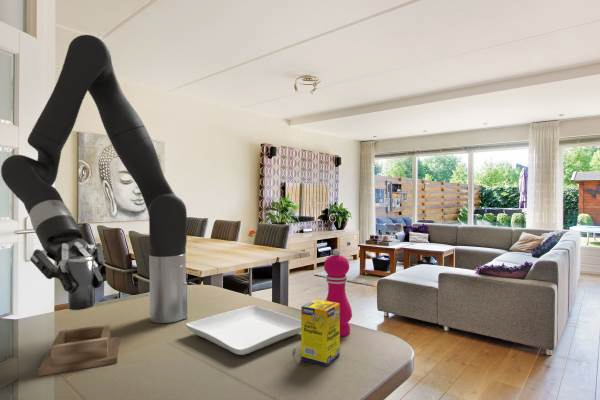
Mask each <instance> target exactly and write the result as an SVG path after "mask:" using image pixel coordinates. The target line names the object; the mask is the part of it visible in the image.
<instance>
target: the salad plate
mask: <svg viewBox="0 0 600 400" xmlns="http://www.w3.org/2000/svg"><path fill="white" fill-rule="evenodd" d="M185 327H186V328H187V329H188V330H189V331H190V332H192V333H194V335H196V336H199V337H201V338H204V339H206V340H207V341H209V342H211V343H214V344H215V345H217V346H220V347H221V348H224V349H226V350H227V351H229V352H231V353H233V354H235V355H239V356H245V355H247V354H250V353H253V352H255V351H259V350H261V349H263V348H266V347H268V346H271V345H274V344H275V343H277V342H280V341H283V340H285V339H287V338H290V337H292V336H296V335H297V334H300V333H301V319H298V318H296V317H292V316H289V315H286V314H284V313H280V312H277V311H274V310H271V309H268V308H264V307H261V306H258V305H249V306H246V307H241V308H236V309H233V310H229V311H225V312H221V313H218V314H214V315H211V316H207V317H204V318H200V319H197V320H193V321H190V322H186V324H185Z"/></svg>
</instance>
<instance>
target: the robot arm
mask: <svg viewBox="0 0 600 400" xmlns="http://www.w3.org/2000/svg"><path fill="white" fill-rule="evenodd" d="M111 55H112V54H111V53H110V49H109V48H108V46H107V45H106V44H105V42H104V41H102V39H100V38H99V37H97V36H94V35H92V34H81V35H78V36H76V37H75V38H73V39H72V41H71V42H70V43H69V44H68V48H67V52H66V55H65V58H64V62H63V65H62V68H61V71H60V74H59V76H58V79H57V81H56V84H55V86H54V88H53V91H52V92H51V94H50V97H49V99H48V100H47V102H46V104H45V106H44V108H43V109H42V111H41V113H40V114H39V117H38V118H37V120H36V122H35V124H34V126H33V128H32V130H31V132H30V133H29V135H28V138H27V143H28V145H29V146H30V147H31V148H33V149H34V150H35V151H36V152H37V159H34V158H32V157H29V156H27V155H23V154H13V155H10V156H8V157H7V158H5V160H4V161H3V162H2V164H1V167H0V174H1V177H2V180H3V182H4V184H5V185H6V186H7V188H9V190H10V191H11V192H12V193H13V194H14V195H15V197H16V198H17V199H19V200H20V201H21V202H22V204H23V205H24V207H25V210H26V213H27V215H28V216H29V218H30V223H31V226H32V229H33V230H34V232H35V234H36V236H37V239H38V240H39V243H40V245H41V247H42V249H37V248H36V249H35V250H34V251H33V253H32V255H31V257H30V259H29V260H30V262H32V264H33V265H34V266H35V267H36V268H37V269H38V271H40V272H41V273H42V275H43V276H44V277H45V278H46V279H48V280H52V279H53V278H54V279H57V280H59V281H60V283H61V286H62V287H63V290H64V291H65V292H67V293H68V292H69V294H71V293H74V292H75V290H76V289H77V285H76V283H75V281H74V279H73V277H72V275H71V273H70V272H69V273H68V258H71V257H78V256H93V257H94V289H98V288H100V287H101V285H102V284H103V281H104V277H103V276H102V274H101V272H100V271H101V269H102V267H103V266H104V265H105V261H106V260H105V254H104V249H103V244H102V243H101V242H97V243H96V244H89V243H88V242H87V241H86V240H84V238H83V234H82V231H81V228H79V225H78V223H77V221H76V220H75V218H74V217H73V213H72V212H71V211H70V209H69V208H68V207H67V205H66V204H65V202H64V200H63V198H62V196H61V194H60V193H59V191H58V190H57V188H55V187H54V186H53V185H54V184H55V181H56V179H57V178H58V177H57V176H58V172H59V166H60V161H61V157H62V151H63V148H64V147H65V145H66V143H67V141H68V139H69V137H70V135H71V133H72V131H73V129H74V127H75V124H76V122H77V118H78V116H79V113H80V110H81V107H82V104H83V102H84V99H85V96H86V94H87V92H88V93H89V95H90V96H91V98H92V100H93V102H94V104H95V106H96V107H97V111H98V114H99V116H100V120H101V123H102V125H103V128H104V131H105V132H106V135H107V138H108V140H109V141H110V143H111V144H112V147H113V149H114V151H115V153H116V154H117V156H118V158H119V160H120V161H121V163H122V165H123V166H124V168H125V169H126V170H127V172H128V173H129V175H130V176H131V178H132V179H133V180H134V182H135V184H136V185H137V188H138V190H139V192H140V194H141V197H142V199H143V202H144V205H145V207H146V210H147V212H148V223H149V224H148V228H149V229H148V231H149V235H148V236H149V239H148V240H149V242H148V243H149V244H148V251H149V253H148V254H149V256H148V257H149V260H148V261H149V263H148V264H149V266H148V267H149V320H150V322H151V323H156V324H169V323H174V322H178V321H182V320H185V319H188V282H187V262H186V261H187V258H186V257H187V255H186V252H187V251H186V250H187V249H186V248H187V241H188V240H187V239H188V237H187V236H188V235H187V233H188V231H187V229H188V228H187V227H188V226H187V225H188V221H187V220H188V215H187V212H188V211H187V207H186V205H185V203H184V201H183V200H182V199H181V198H180V197H178V196H177V195H176V194H175V192H174V191H173V189H172V188H171V187H172V186H170V184H169V182H168V180H167V179H166V177H165V174H164V173H163V170H162V166H161V163H160V161H159V160H160V159H159V156H158V154H157V151H156V148H155V145H154V143H153V141H152V140H153V139H152V138H151V136H150V134H149V132H148V130H147V128H146V126H145V124H144V123H143V121H142V118H141V117H140V115H139V114H138V112H137V111H136V110H135V109H134V107H133V106H132V104H131V103H130V101H129V100H128V98H127V97H126V96H125V94H124V92H123V91H122V88H121V86H120V82H119V81H118V79H117V75H116V73H115V70H114V65H113V61H112V56H111ZM52 261H54V262H55V264H54V263H53V262H52Z"/></svg>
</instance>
